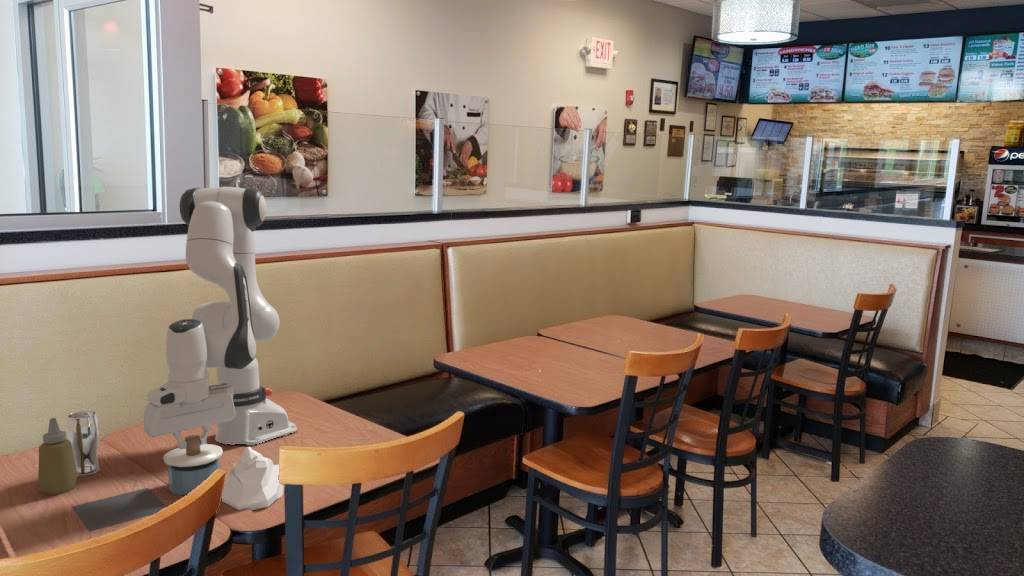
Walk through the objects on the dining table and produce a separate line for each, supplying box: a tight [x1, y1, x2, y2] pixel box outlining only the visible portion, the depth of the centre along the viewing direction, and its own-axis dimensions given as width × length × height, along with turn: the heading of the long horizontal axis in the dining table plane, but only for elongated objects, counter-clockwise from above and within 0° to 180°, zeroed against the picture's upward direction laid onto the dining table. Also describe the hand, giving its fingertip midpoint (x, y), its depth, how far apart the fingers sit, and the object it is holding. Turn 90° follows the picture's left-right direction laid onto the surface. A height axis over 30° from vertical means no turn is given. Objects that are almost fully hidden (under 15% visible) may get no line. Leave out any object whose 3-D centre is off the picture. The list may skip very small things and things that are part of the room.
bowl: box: [167, 458, 221, 496], centre depth 186 cm, size 11×11×6 cm
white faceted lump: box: [221, 446, 285, 511], centre depth 178 cm, size 12×15×14 cm
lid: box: [163, 434, 224, 467], centre depth 185 cm, size 13×13×5 cm
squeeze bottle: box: [37, 417, 78, 496], centre depth 183 cm, size 8×8×18 cm
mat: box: [71, 487, 168, 532], centre depth 174 cm, size 16×16×1 cm
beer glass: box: [66, 410, 101, 477], centre depth 196 cm, size 7×7×15 cm
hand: (192, 446), depth 185 cm, fingers closed on lid, 3 cm apart
